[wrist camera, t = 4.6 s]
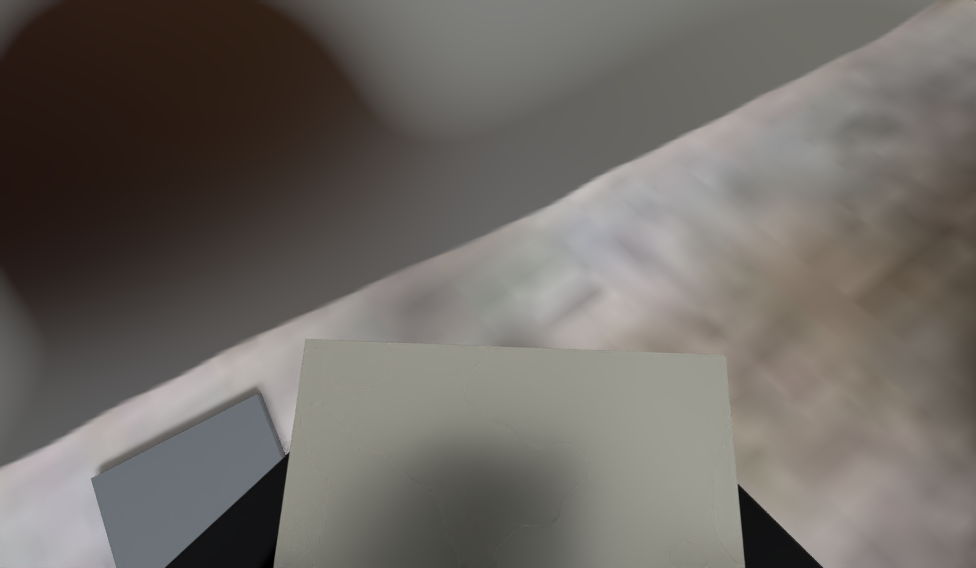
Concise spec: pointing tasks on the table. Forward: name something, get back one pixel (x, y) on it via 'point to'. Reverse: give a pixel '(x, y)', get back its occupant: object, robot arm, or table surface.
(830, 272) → the table surface
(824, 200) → the table surface
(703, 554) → the striped paper box
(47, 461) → the table surface
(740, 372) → the table surface
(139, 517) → the slate mat
